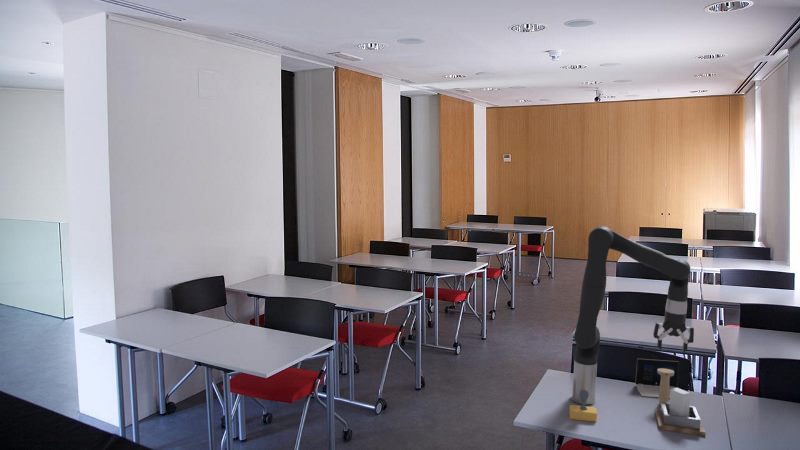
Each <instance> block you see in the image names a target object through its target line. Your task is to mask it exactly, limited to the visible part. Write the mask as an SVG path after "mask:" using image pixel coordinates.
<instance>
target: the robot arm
mask: <svg viewBox="0 0 800 450" xmlns="http://www.w3.org/2000/svg"><path fill="white" fill-rule="evenodd" d="M587 246H588V247H587V248H588V249H587V261H586V265H585V268H584V269H585V270H584V274H583V279H582V285H581V292H580V302H579V313H578V314H579V315H578V319H577V322H576V326H575V330H574V334H573V339H574V342H575V344H576V349H575V353H574V358H573V359H574V360H573V361H574V362H573V363H574V365H573V379H572V398H571V401H572V402H575V403H578V404H580V405H582V401H581V398H580V391H581V389H586V390H587V391H588V392H589V396H588V399H587V401H586V403H585V405H593V404H594V403H595V402H596V386H597V373H598V372H597V370H598V359H599V355H600V354H599V353H600V344H601V342H600V341H601V333H600V330H599V327H598V326H597V321H598V318H599V313H600V311H601V308H602V306H603V303H604V300H605V293H606V288H607V259H608V255H609V252H610V251H609V250H613V251H616V252H620V253H621V254H624V255H625V256H628V257H629V258H631V259H632V260H634V261H636V262H638V263H640V264H642V265H644V266H646V267H649V268H652V269H655V270H656V271H659V272H660V273H662V274H664V275H665V276H668V277H669V286H668V289H667V298H666V301H665V302H666V303H665V307H664V308H665V311H664V318H663V319H664V321H663V323H661V322H660V323H659V322H658V321H656V322H655V323H654V328H653V336H652V337H653V338H654V339H657V345H656V346H657V348H658V349H659V350H662V346H663V339H664V338H666V337H667V336H670V337H673V336H674V337H680V338H681V339H682V341H683V342H682V349H681V351H682V353H686V352H688V344H691V343H692V344H693V343H694V341H695V340H694V339H695V338H694V336H695V329H694V327H693V326H686V320H687V313H688V312H687V310H688V296H689V281H690V274H691V265H690V263H689V262H688V261H687V260H685V259H674V258H672V257H669V256H668V255H667V254H666V253H664V252H661V251H659V250H656V249H654V248H651V247H649V246H646V245H644V244H641V243H638V242H636V241H633V240H632V239H629V238H626V237H625V236H623V235H621V234H619V233H618V232H616V231H614V230H612V229H611V228H609V227H608V226H604V225H600V226H597V227H595V228H594V229H592V230H591V231H590V232H589V234H588V245H587ZM661 328H663V331H662V332H661V333H660V334H659V330H661ZM686 330H687V332H688V333H689V334H688V335H689V337H688V338H687V337H686V336H685V334H684V333H685V331H686Z"/></svg>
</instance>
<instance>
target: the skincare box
mask: <svg viewBox="0 0 800 450" xmlns="http://www.w3.org/2000/svg"><path fill="white" fill-rule="evenodd" d="M690 401H691V393H690V392H688V391H686V390H685V389H681V388H679V387H675V388H673V389H670V398H669V403H670V411H669V414H670V415H677V416H684V417H689V407H690V406H691V405H690Z"/></svg>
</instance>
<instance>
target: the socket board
mask: <svg viewBox="0 0 800 450" xmlns="http://www.w3.org/2000/svg"><path fill="white" fill-rule="evenodd" d="M669 411H670V402H667V403H665V402H661V405H660V409H655V411H654V412H655V413H654V414H655V418H656V419H655V420H656V422H657V423H656V424H657V426H658V429H659V430H661V431H669V432H674V433H682V434H689V435H695V436H701V437H706V434H707V432H706V430H705V427H704V425H703V422H702V420H701V417H700V415H699V413H698V411H697V407H696V406H694V405H690V407H689V417H684V416H677V415H670V414H669Z"/></svg>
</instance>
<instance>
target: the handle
mask: <svg viewBox="0 0 800 450" xmlns="http://www.w3.org/2000/svg"><path fill="white" fill-rule="evenodd" d="M657 373H658V374H660V375H661V381H660V388H659V398H658V404H659V405H660V406H661V402H665V403H669V400H670V398H669V382H670V376H673V375H674V371H673V370H670V369H664V368H660V369H657Z"/></svg>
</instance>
